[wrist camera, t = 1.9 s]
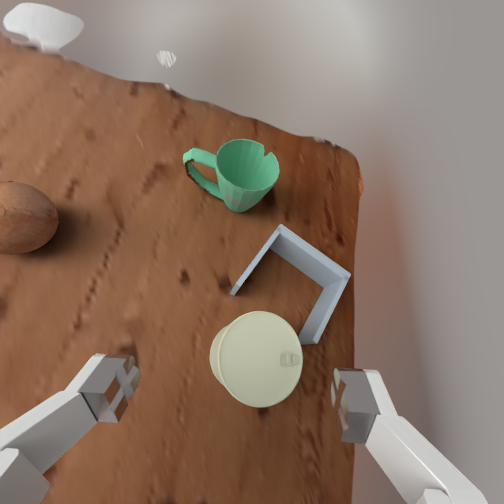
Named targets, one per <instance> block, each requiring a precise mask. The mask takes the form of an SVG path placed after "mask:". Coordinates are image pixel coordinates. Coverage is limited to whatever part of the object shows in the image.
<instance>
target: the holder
mask: <svg viewBox="0 0 504 504" xmlns="http://www.w3.org/2000/svg"><path fill="white" fill-rule="evenodd" d="M268 248H270V249H271V250H272V251H274V252H275V253H277V254H278V255H279V256H281V257H282V258H283V259H285V260H286V261H288V262H289V263H290V264H292V265H293V266H294V267H296V268H297V269H299V270H300V271H301V272H303V273H304V274H305V275H307V276H308V277H310V278H311V279H312V280H314V281H315V282H317V283H318V284H319V285H321V286H322V287H323V288H324V289H323V291H322V293H321V295H320V297H319V299H318V301H317V302H316V304H315V306H314V308H313V310H312V312H311V314H310V315H309V317H308V319H307V321H306V323H305V325H304V327H303V329H302V330H301V332H300V334H299V336H298V339H299V341H300V344H301V345H304V344H317V343H318V341H319V339H320V337H321V335H322V333H323V331H324V329H325V327H326V325H327V323H328V321H329V318H330V316H331V314H332V312H333V310H334V308H335V306H336V304H337V302H338V300H339V298H340V296H341V294H342V292H343V290H344V288H345V286H346V284H347V282H348V280H349V278H350V276H351V274H350V273H349V272H347V271H346V270H345V269H343V268H342V267H340V266H339V265H338V264H336V263H335V262H333V261H332V260H331V259H329V258H328V257H326V256H325V255H324V254H322V253H321V252H319V251H318V250H317V249H315V248H314V247H313V246H311V245H310V244H308V243H307V242H306V241H304V240H303V239H301V238H300V237H299V236H297V235H296V234H294V233H293V232H292V231H290V230H289V229H287V228H286V227H285V226H283V225H282V224H280V225H279V226H278V228H277V229H276V230H275V232H274V233H273V234H272V236H271V237H270V238H269V240H268V241H267V242H266V244H265V245H264V246H263V248H262V249H261V251H260V252H259V253H258V255H257V256H256V257H255V259H254V260H253V261H252V263H251V264H250V265H249V267H248V268H247V269H246V271H245V272H244V273H243V275H242V276H241V277H240V279H239V280H238V281H237V283H236V284H235V286H234V287H233V289H232V290H231V292H230V294H232V295H233V296H234V295H235V293H236V292H237V291H238V289H239V288H240V287H241V285H242V284H243V282H244V281H245V280H246V278H247V277H248V276H249V274H250V273H251V272H252V270H253V269H254V267H255V266H256V265H257V263H258V262H259V261H260V259H261V258H262V256H263V255H264V254H265V252H266V251H267V250H268Z"/></svg>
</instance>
